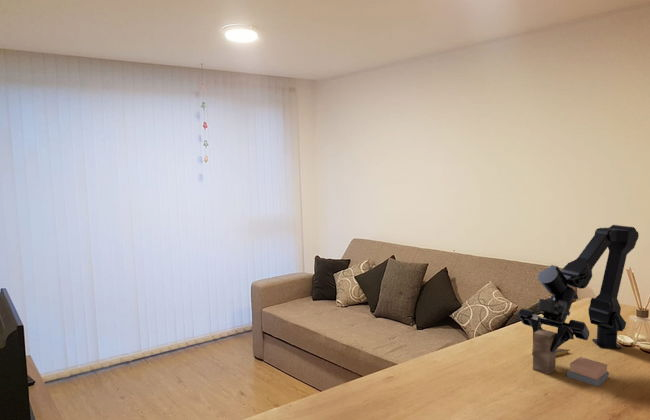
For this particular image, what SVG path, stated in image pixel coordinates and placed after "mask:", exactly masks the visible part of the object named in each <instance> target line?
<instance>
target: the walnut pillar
mask: <svg viewBox="0 0 650 420" xmlns="http://www.w3.org/2000/svg"><path fill="white" fill-rule="evenodd" d="M556 334H557V332H555V331H550V330H547V329H544V328H542V329H540V330H538V331H536V332H534V344H533V343H532V346H533V354H532V371H533V370H534V371H536V372H540V373H542V374H546V375H550V374H551V373H553V372H554V371H555V370H556V360H557V356H556V350H555V351H553V352H551V351H550V349H551V345H552V343H553V341H554V339H555V336H556Z"/></svg>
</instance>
